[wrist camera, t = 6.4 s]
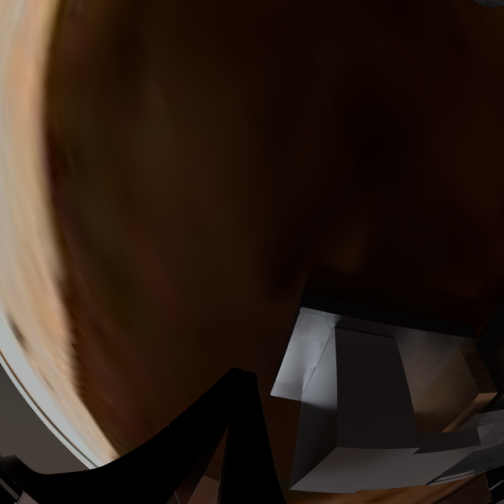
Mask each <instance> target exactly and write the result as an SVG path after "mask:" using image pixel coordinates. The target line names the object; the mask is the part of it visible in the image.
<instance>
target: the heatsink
mask: <svg viewBox="0 0 504 504" xmlns="http://www.w3.org/2000/svg"><path fill="white" fill-rule="evenodd" d="M479 339H480V340H479V342H478V343H477V345H476V346H475V348H465V347H458V349H457V350H456V352H455V353H454V355H453V356H452V357H451V359H450V360H449V362H448V363H447V364H446V366H445V367H444V368H443V370H442V371H441V372H440V374H439V375H438V376H437V378H436V379H435V380H434V381H433V383H432V384H431V385H430V386H429V388H428V389H427V390H426V391H425V392H424V394H423V395H422V396H421V397H420V398H419V399H418V401H417V402H416V403H415V404H414V405H413V409H414V414H415V418H416V424H417V429H418V434H424V433H440V432H451V431H458V430H459V429H460V428H461V427H463V426H464V425H465V424H466V423H467V422H468V421H469V420H470V419H471V418H472V417H473V416H474V415H475V414H479V413H486V412H493V411H498V410H504V294H503V296H502V297H501V299H500V301H499V303H498V305H497V307H496V309H495V311H494V312H493V314H492V316H491V318H490V319H489V321H488V323H487V324H486V326H485V328H484V329H483V331H482V333H481V334H480V336H479ZM502 465H504V443H502V444H499V445H495V446H492V447H489V448H485V449H481V450H478V451H474V452H471V453H470V454H469V455H467V456H466V457H465V458H463V459H462V460H461V461H459V462H458V463H457V464H455V465H454V466H452V467H451V468H449V469H448V470H446V471H445V472H443V473H442V474H440V475H439V476H437V477H436V478H434V479H433V480H431V481H429V482H428V483H426V484H427V486H432V485H437V484H442V483H446V482H450V481H455V480H459V479H462V478H466V477H470V476H473V475H476V474H480V473H483V472H486V471H489V470H492V469H494V468H497V467H500V466H502Z"/></svg>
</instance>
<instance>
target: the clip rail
mask: <svg viewBox="0 0 504 504" xmlns="http://www.w3.org/2000/svg"><path fill="white" fill-rule="evenodd" d="M334 327H335V328H340V329H345V330H350V331H355V332H361V333H366V334H372V335H377V336H383V337H389V338H395V339H396V342H397V346H398V349H399V353H400V356H401V360H402V363H403V367H404V371H405V375H406V379H407V383H408V387H409V391H410V395H411V400H412V404H413V405H414V404H415V403H416V402H417V401H418V399H419V398H420V397H421V396H422V395H423V394H424V392H425V391H426V390H427V389H428V388H429V386H430V385H431V384H432V383H433V381H434V380H435V379H436V378H437V376H438V375H439V374H440V372H441V371H442V370H443V368H444V367H445V366H446V364H447V363H448V362H449V360H450V359H451V357H452V356H453V355H454V353H455V352H456V350H457V349H458V347H465V348H475V346H476V345H477V343H478V342H479V340H480V339H479V337H478V335H477V334H476V332H475V330H474V329H473V327H472V325H467V324H462V323H456V322H451V321H445V320H440V319H435V318H429V317H424V316H419V315H414V314H409V313H404V312H399V311H394V310H389V309H384V308H379V307H374V306H370V305H365V304H360V303H356V302H351V301H346V300H342V299H337V298H333V297H328V296H324V295H319V294H315V293H310V292H306V291H302V295H301V298H300V301H299V304H298V308H297V311H296V314H295V317H294V320H293V323H292V326H291V329H290V333H289V336H288V339H287V342H286V345H285V347H284V350H283V353H282V356H281V359H280V362H279V365H278V368H277V370H276V373H275V376H274V379H273V384H272V389H271V394H270V395H274V396H279V397H284V398H289V399H294V400H300V401H302V394H303V392H304V390H305V389H306V387H307V385H308V383H309V381H310V379H311V377H312V375H313V373H314V371H315V369H316V367H317V364H318V362H319V360H320V358H321V356H322V354H323V352H324V350H325V347H326V345H327V343H328V341H329V339H330V336H331V334H332V332H333V329H334Z"/></svg>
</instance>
